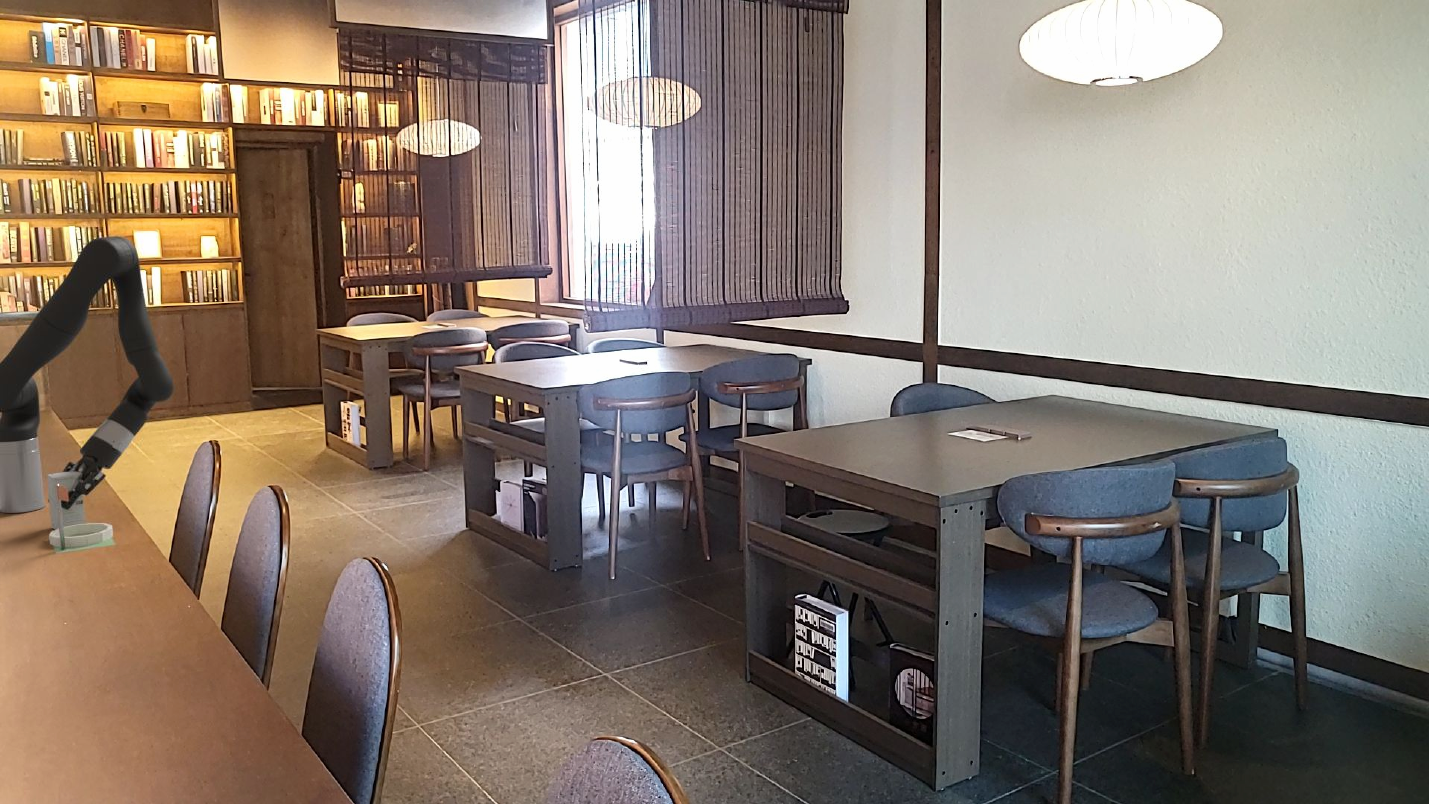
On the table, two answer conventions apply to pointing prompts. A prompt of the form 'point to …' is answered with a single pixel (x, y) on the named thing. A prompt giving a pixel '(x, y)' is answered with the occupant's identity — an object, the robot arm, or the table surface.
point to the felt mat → (96, 545)
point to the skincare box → (69, 516)
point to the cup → (99, 530)
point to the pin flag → (61, 495)
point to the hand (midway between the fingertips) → (57, 505)
